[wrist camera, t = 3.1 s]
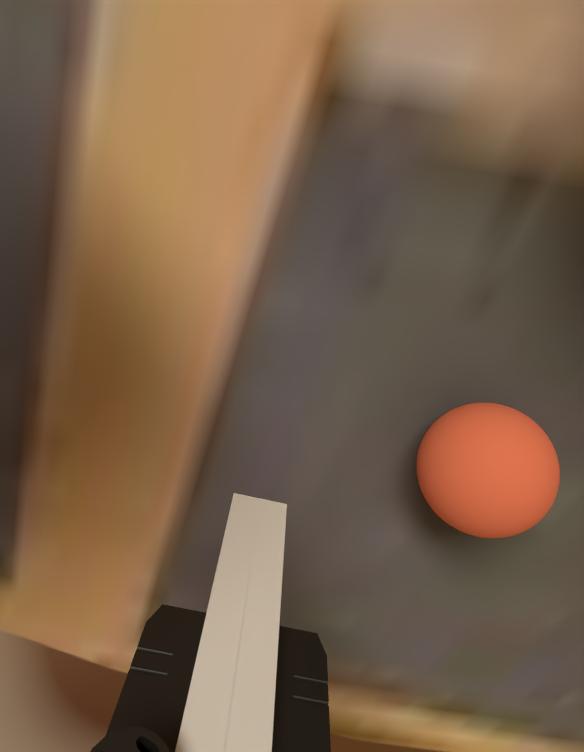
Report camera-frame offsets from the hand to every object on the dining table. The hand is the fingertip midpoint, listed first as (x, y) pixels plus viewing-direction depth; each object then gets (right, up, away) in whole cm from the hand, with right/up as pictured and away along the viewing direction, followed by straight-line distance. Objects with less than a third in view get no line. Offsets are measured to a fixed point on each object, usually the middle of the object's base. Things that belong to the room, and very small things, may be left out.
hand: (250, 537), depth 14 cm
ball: (+9, +1, +7) cm, 11 cm away
